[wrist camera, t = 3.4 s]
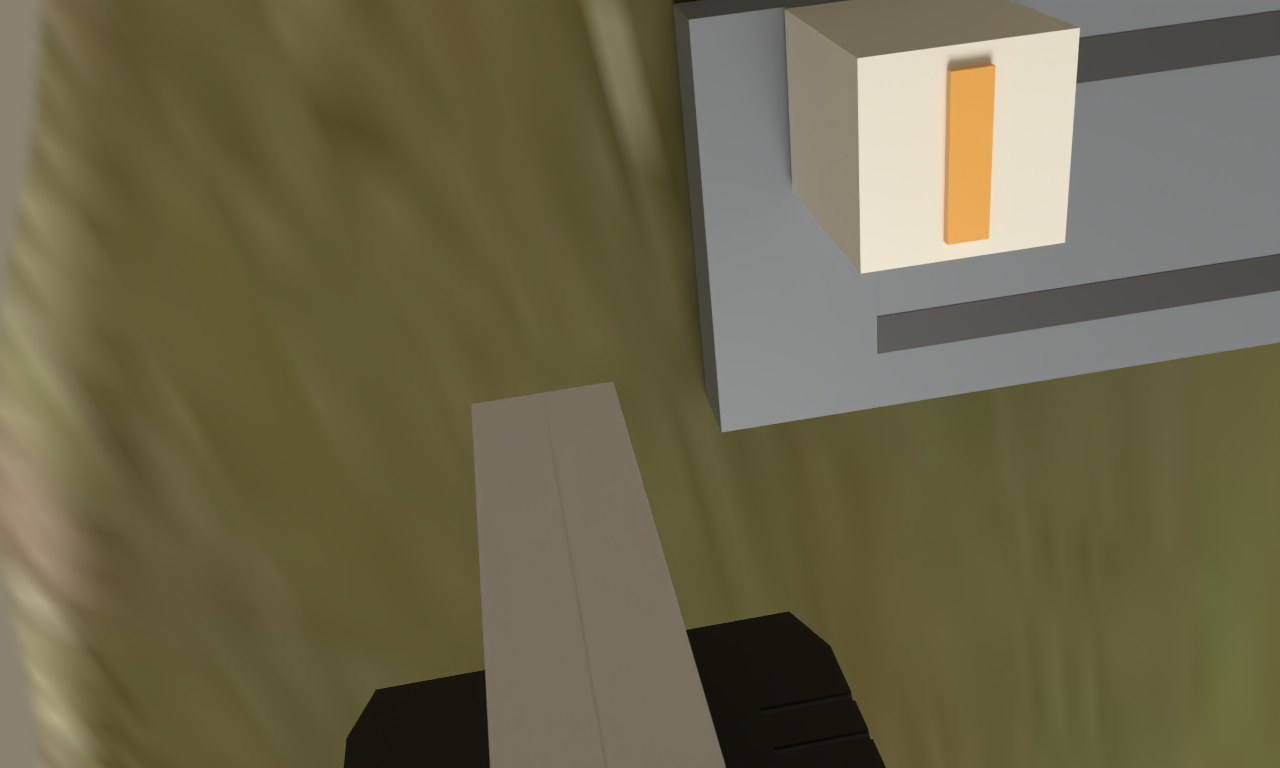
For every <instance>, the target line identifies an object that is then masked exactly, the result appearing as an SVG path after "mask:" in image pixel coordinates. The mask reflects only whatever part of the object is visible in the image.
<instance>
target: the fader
mask: <svg viewBox="0 0 1280 768" xmlns="http://www.w3.org/2000/svg"><path fill="white" fill-rule="evenodd" d="M785 32H786V55H787V79H788V102H789V125H790V148H791V172H792V192H793V193H794V195H795V196H796V197H797V198H798V199H799V201H800V202H801V203H802V204H803V205H804V207H805V208H806V209H807V210H808V211H809V213H810V214H811V215H812V216H813V217H814V218H815V220H816V221H817V222H818V223H819V224H820V226H821V227H822V228H823V229H824V230H825V232H826V233H827V234H828V235H829V236H830V238H831V239H832V240H833V241H834V242H835V244H836V245H837V246H838V247H839V248H840V250H841V251H842V252H843V253H844V254H845V256H846V257H847V258H848V259H849V260H850V261H851V263H852V264H853V265H854V266H855V267H856V269H857V270H858V271H859V272H860V273H861V274H862V273H869V272H875V271H882V270H888V269H895V268H901V267H908V266H915V265H921V264H928V263H934V262H941V261H948V260H954V259H961V258H967V257H974V256H980V255H987V254H994V253H1000V252H1007V251H1013V250H1020V249H1027V248H1033V247H1040V246H1046V245H1053V244H1059V243H1065V236H1066V222H1067V207H1068V193H1069V179H1070V164H1071V150H1072V136H1073V121H1074V107H1075V93H1076V78H1077V64H1078V50H1079V35H1080V28H1079V27H1077V26H1074V25H1071V24H1069V23H1066V22H1064V21H1061V20H1059V19H1056V18H1053V17H1051V16H1048V15H1046V14H1043V13H1041V12H1038V11H1036V10H1033V9H1030V8H1028V7H1025V6H1023V5H1020V4H1018V3H1015V2H1013V1H1010V0H848V1H841V2H833V3H826V4H818V5H811V6H803V7H795V8H788V9H785Z"/></svg>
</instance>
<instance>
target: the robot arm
mask: <svg viewBox="0 0 1280 768" xmlns="http://www.w3.org/2000/svg"><path fill="white" fill-rule="evenodd" d="M471 405H472V424H473V444H474V463H475V483H476V502H477V522H478V541H479V561H480V580H481V599H482V619H483V638H484V658H485V670H483V671H477V672H472V673H466V674H461V675H455V676H449V677H444V678H438V679H433V680H427V681H422V682H416V683H411V684H405V685H399V686H394V687H388V688H383V689H377V690H376V691H375V692H374V694H373V696H372V697H371V699H370V701H369V702H368V704H367V706H366V707H365V709H364V711H363V712H362V714H361V716H360V717H359V719H358V721H357V722H356V724H355V726H354V727H353V729H352V730H351V732H350V734H349V735H348V737H347V741H346V751H345V761H344V768H886V767H885V765H884V763H883V761H882V758H881V756H880V754H879V752H878V750H877V747H876V745H875V743H874V741H873V739H870V736H869V731H868V728H867V725H866V723H865V721H864V719H863V717H862V715H861V712H860V710H859V708H858V706H857V704H856V701H853V699H852V695H851V690H850V688H849V686H848V684H847V682H846V679H845V677H844V675H843V673H842V671H841V668H840V666H839V664H838V662H837V660H836V658H835V655H834V653H833V651H832V649H831V647H830V645H828V644H827V643H826V642H825V641H824V640H822V639H821V638H820V637H819V636H818V635H817V634H815V633H814V632H813V631H812V630H811V629H809V628H808V627H807V626H806V625H805V624H803V623H802V622H801V621H800V620H799V619H797V618H796V617H795V616H794V615H793V614H791V613H790V612H784V613H778V614H773V615H767V616H761V617H756V618H750V619H745V620H739V621H734V622H728V623H722V624H717V625H711V626H706V627H700V628H695V629H689V630H686V629H685V626H684V622H683V619H682V616H681V612H680V609H679V605H678V602H677V599H676V595H675V592H674V588H673V585H672V581H671V578H670V575H669V571H668V568H667V564H666V561H665V558H664V554H663V551H662V547H661V544H660V540H659V537H658V534H657V530H656V527H655V523H654V520H653V517H652V513H651V510H650V506H649V503H648V499H647V496H646V493H645V489H644V486H643V482H642V479H641V476H640V472H639V469H638V465H637V462H636V458H635V455H634V452H633V448H632V445H631V441H630V438H629V435H628V431H627V428H626V424H625V421H624V417H623V414H622V411H621V407H620V404H619V400H618V397H617V394H616V390H615V387H614V383H613V382H608V383H602V384H595V385H589V386H583V387H577V388H570V389H564V390H558V391H552V392H545V393H539V394H533V395H527V396H520V397H514V398H508V399H502V400H495V401H489V402H483V403H477V404H471Z"/></svg>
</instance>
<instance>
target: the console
mask: <svg viewBox="0 0 1280 768" xmlns="http://www.w3.org/2000/svg"><path fill="white" fill-rule="evenodd" d="M841 1H848V0H698V1H691V2H683V3H675V4H673V12H674V24H675V36H676V48H677V59H678V71H679V83H680V95H681V106H682V118H683V130H684V141H685V153H686V165H687V177H688V188H689V200H690V212H691V223H692V235H693V247H694V259H695V270H696V282H697V294H698V306H699V317H700V329H701V341H702V352H703V364H704V376H705V388H706V396H707V399H708V401H709V403H710V406H711V408H712V411H713V413H714V415H715V418H716V420H717V422H718V425H719V427H720V430H721V432H727V431H733V430H739V429H745V428H751V427H758V426H764V425H770V424H776V423H782V422H789V421H795V420H801V419H807V418H813V417H820V416H826V415H832V414H838V413H844V412H851V411H857V410H863V409H869V408H875V407H882V406H888V405H894V404H900V403H906V402H912V401H919V400H925V399H931V398H937V397H943V396H950V395H956V394H962V393H968V392H974V391H981V390H987V389H993V388H999V387H1005V386H1012V385H1018V384H1024V383H1030V382H1036V381H1043V380H1049V379H1055V378H1061V377H1067V376H1074V375H1080V374H1086V373H1092V372H1098V371H1105V370H1111V369H1117V368H1123V367H1129V366H1136V365H1142V364H1148V363H1154V362H1160V361H1167V360H1173V359H1179V358H1185V357H1191V356H1197V355H1204V354H1210V353H1216V352H1222V351H1228V350H1235V349H1241V348H1247V347H1253V346H1259V345H1266V344H1272V343H1278V342H1280V0H1010V1H1013V2H1015V3H1018V4H1020V5H1023V6H1025V7H1028V8H1030V9H1033V10H1036V11H1038V12H1041V13H1043V14H1046V15H1048V16H1051V17H1053V18H1056V19H1059V20H1061V21H1064V22H1066V23H1069V24H1071V25H1074V26H1077V27H1079V28H1080V35H1079V50H1078V64H1077V78H1076V93H1075V107H1074V121H1073V136H1072V150H1071V164H1070V179H1069V193H1068V207H1067V222H1066V236H1065V243H1059V244H1053V245H1046V246H1040V247H1033V248H1027V249H1020V250H1013V251H1007V252H1000V253H994V254H987V255H980V256H974V257H967V258H961V259H954V260H948V261H941V262H934V263H928V264H921V265H915V266H908V267H901V268H895V269H888V270H882V271H875V272H869V273H862V274H861V273H860V272H859V271H858V270H857V269H856V267H855V266H854V265H853V264H852V263H851V261H850V260H849V259H848V258H847V257H846V256H845V254H844V253H843V252H842V251H841V250H840V248H839V247H838V246H837V245H836V244H835V242H834V241H833V240H832V239H831V238H830V236H829V235H828V234H827V233H826V232H825V230H824V229H823V228H822V227H821V226H820V224H819V223H818V222H817V221H816V220H815V218H814V217H813V216H812V215H811V214H810V213H809V211H808V210H807V209H806V208H805V207H804V205H803V204H802V203H801V202H800V201H799V199H798V198H797V197H796V196H795V195H794V193H793V192H792V172H791V148H790V125H789V102H788V79H787V55H786V32H785V9H788V8H795V7H803V6H811V5H818V4H826V3H833V2H841Z"/></svg>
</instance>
